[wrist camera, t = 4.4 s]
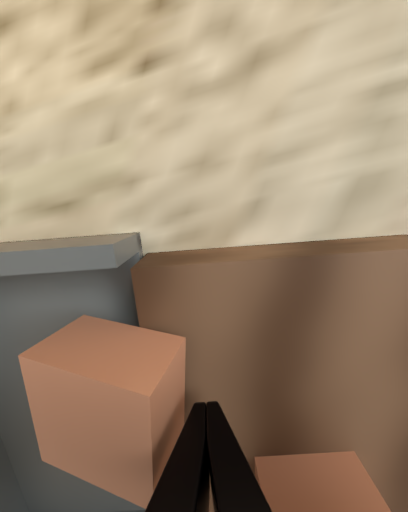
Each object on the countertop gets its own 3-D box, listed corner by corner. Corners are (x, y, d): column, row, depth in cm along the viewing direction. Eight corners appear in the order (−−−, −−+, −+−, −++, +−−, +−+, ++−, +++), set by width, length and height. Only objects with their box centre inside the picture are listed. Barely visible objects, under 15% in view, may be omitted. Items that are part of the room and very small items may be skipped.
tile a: (185, 337, 8) (150, 396, 5) (183, 431, 9) (153, 512, 7) (83, 314, 9) (18, 355, 7) (94, 400, 10) (41, 460, 8)
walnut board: (406, 234, 10) (472, 244, 7) (369, 484, 14) (405, 545, 11) (147, 253, 10) (130, 268, 8) (181, 495, 14) (176, 557, 11)
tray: (139, 232, 10) (112, 243, 7) (178, 506, 14) (172, 585, 11) (-75, 248, 10) (-189, 266, 7) (28, 514, 14) (-18, 595, 11)
